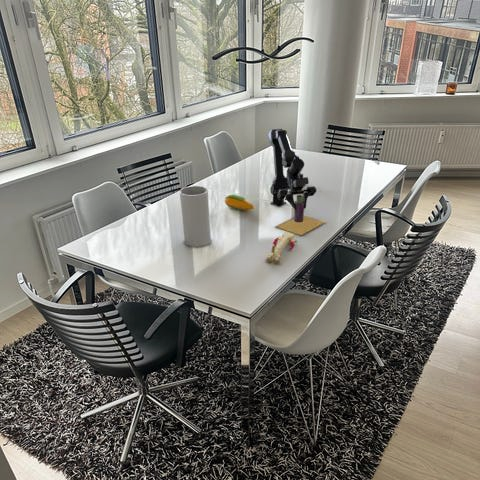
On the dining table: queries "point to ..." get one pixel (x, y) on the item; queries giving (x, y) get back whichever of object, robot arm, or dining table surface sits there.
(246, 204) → the corn
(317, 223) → the mustard yellow board
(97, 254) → the dining table surface
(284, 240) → the beige elongated piece
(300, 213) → the pepper mill
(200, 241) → the cylinder vase
